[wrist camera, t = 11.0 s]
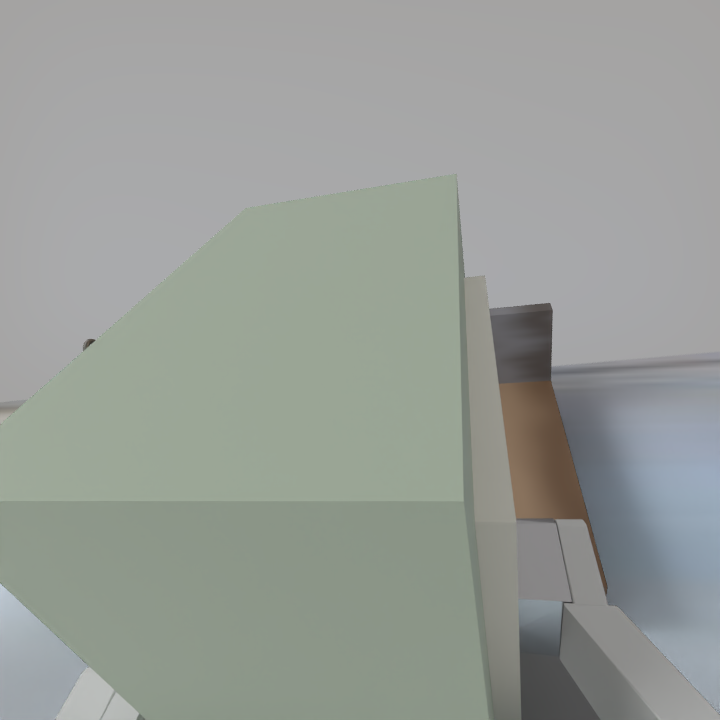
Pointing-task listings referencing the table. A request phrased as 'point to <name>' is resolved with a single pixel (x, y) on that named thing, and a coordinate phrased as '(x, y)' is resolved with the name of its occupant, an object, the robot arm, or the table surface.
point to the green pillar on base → (287, 481)
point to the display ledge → (535, 419)
